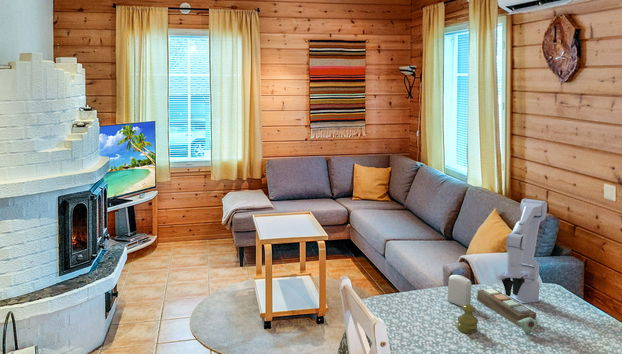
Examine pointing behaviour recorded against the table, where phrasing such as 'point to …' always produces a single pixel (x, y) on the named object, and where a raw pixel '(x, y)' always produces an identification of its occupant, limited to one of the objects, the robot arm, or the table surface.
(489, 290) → the ivory key
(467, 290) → the white rounded slab
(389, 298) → the table surface
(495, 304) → the keyboard
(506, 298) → the terracotta key
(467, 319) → the olive green vase
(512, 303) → the sage key
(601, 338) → the table surface
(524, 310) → the slate key
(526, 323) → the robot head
